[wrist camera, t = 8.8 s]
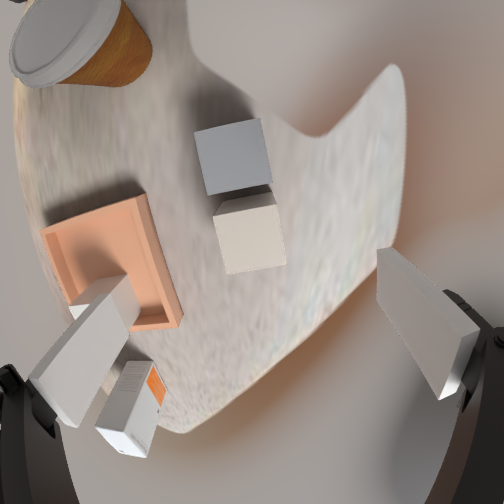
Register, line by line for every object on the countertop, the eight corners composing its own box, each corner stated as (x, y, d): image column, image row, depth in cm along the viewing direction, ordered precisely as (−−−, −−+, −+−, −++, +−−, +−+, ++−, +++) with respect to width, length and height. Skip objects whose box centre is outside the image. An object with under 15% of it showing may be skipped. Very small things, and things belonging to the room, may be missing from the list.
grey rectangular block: (208, 136, 22) (193, 132, 17) (259, 126, 22) (259, 117, 16) (219, 185, 24) (207, 195, 18) (269, 175, 24) (272, 182, 18)
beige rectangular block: (222, 201, 24) (212, 216, 19) (272, 191, 24) (276, 204, 18) (233, 247, 26) (226, 274, 20) (280, 238, 26) (287, 264, 20)
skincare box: (169, 389, 34) (148, 459, 22) (143, 388, 34) (118, 453, 23) (153, 359, 32) (123, 432, 20) (126, 359, 32) (92, 426, 21)
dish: (52, 224, 25) (39, 230, 23) (145, 192, 24) (135, 197, 22) (91, 322, 30) (82, 333, 28) (183, 314, 29) (178, 327, 26)
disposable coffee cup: (126, 119, 22) (41, 109, 10) (71, 80, 20) (-8, 64, 8) (189, 41, 19) (142, -23, 8) (125, 9, 17) (66, -39, 6)
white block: (96, 279, 27) (68, 306, 21) (127, 273, 27) (101, 302, 21) (110, 313, 29) (87, 343, 23) (142, 310, 28) (121, 343, 23)
